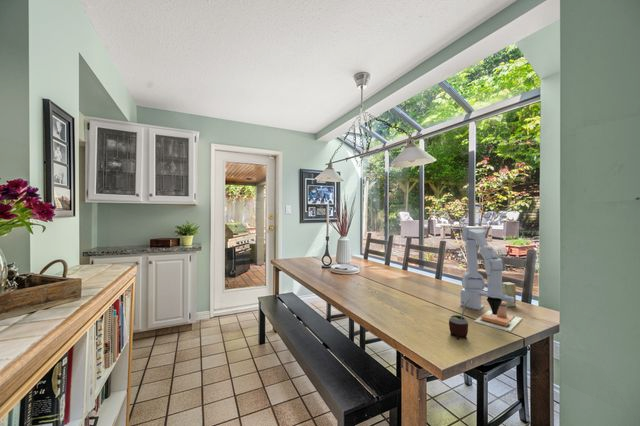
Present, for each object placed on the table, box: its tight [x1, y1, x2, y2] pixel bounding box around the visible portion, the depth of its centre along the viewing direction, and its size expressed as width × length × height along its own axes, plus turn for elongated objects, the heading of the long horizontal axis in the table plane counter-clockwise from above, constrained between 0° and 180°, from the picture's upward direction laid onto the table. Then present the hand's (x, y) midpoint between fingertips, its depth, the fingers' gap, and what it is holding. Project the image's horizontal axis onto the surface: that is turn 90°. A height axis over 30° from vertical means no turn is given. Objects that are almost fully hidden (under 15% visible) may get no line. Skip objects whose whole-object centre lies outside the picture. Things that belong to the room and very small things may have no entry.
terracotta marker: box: [497, 301, 508, 318], centre depth 129 cm, size 4×4×7 cm
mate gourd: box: [448, 300, 469, 340], centre depth 110 cm, size 8×8×15 cm
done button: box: [480, 313, 509, 326], centre depth 122 cm, size 10×4×2 cm, turn 41°
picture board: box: [474, 309, 523, 333], centre depth 125 cm, size 14×20×1 cm
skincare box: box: [502, 281, 517, 308], centre depth 146 cm, size 6×4×12 cm
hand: (494, 314), depth 122 cm, fingers closed
